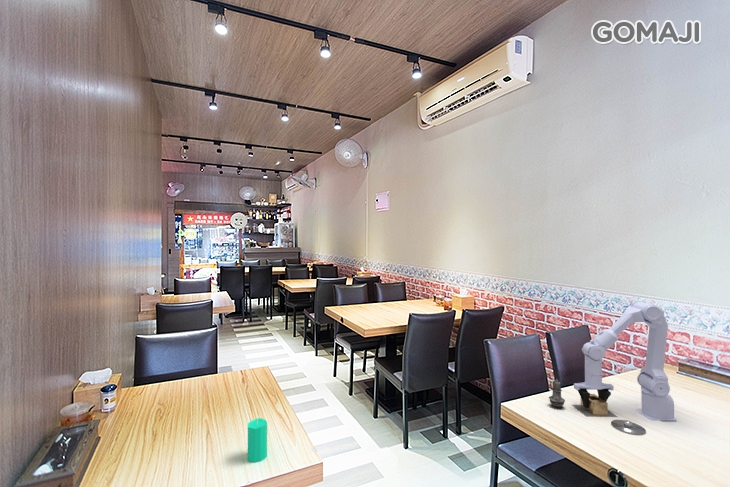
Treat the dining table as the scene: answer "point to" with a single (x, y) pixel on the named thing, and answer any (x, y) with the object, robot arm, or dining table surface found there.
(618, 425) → the hub
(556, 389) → the stepped metal shaft
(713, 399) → the dining table surface
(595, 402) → the wooden cubby box
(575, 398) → the dining table surface
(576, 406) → the mat
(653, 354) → the robot arm
